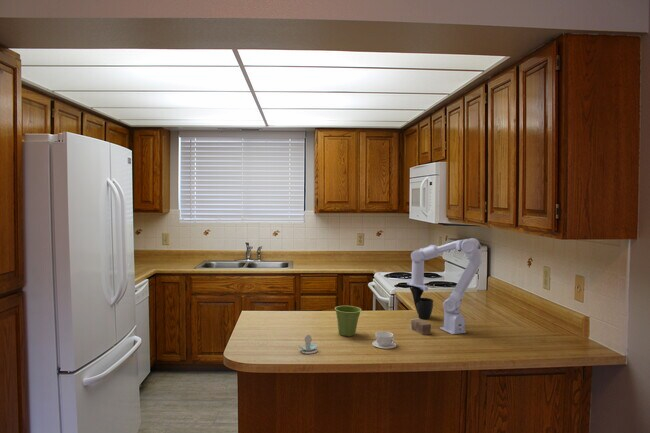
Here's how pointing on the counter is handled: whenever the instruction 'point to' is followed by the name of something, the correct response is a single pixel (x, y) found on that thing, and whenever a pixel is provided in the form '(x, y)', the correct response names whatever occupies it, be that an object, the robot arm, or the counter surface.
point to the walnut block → (420, 326)
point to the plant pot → (347, 319)
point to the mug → (424, 308)
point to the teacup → (384, 340)
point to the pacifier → (308, 346)
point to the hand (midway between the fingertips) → (416, 302)
